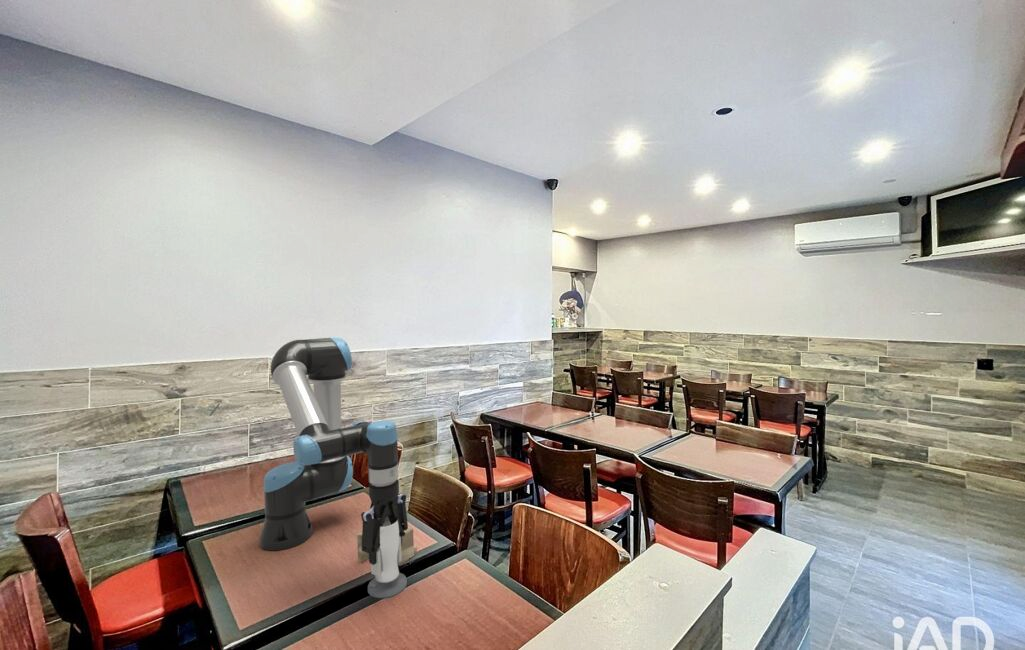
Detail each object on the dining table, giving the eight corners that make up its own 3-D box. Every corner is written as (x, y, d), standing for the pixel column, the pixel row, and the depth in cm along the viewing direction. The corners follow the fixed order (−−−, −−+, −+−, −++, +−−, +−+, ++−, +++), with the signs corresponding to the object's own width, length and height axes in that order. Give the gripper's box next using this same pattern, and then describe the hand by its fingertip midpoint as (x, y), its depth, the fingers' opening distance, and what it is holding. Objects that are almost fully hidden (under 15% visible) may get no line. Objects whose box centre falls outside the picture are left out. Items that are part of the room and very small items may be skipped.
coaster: (359, 590, 111) (359, 588, 111) (388, 570, 120) (388, 568, 120) (386, 603, 106) (386, 600, 106) (414, 580, 115) (414, 578, 115)
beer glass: (393, 585, 109) (391, 527, 108) (368, 582, 110) (366, 525, 110) (405, 569, 116) (403, 515, 115) (381, 567, 117) (379, 513, 117)
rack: (358, 561, 125) (357, 534, 124) (387, 542, 134) (386, 518, 134) (388, 573, 118) (387, 545, 118) (416, 553, 128) (415, 527, 128)
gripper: (363, 498, 102) (367, 592, 103) (420, 471, 119) (422, 552, 119) (343, 492, 106) (346, 583, 106) (400, 466, 123) (403, 545, 123)
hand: (386, 566), depth 113 cm, fingers closed on beer glass, 7 cm apart
